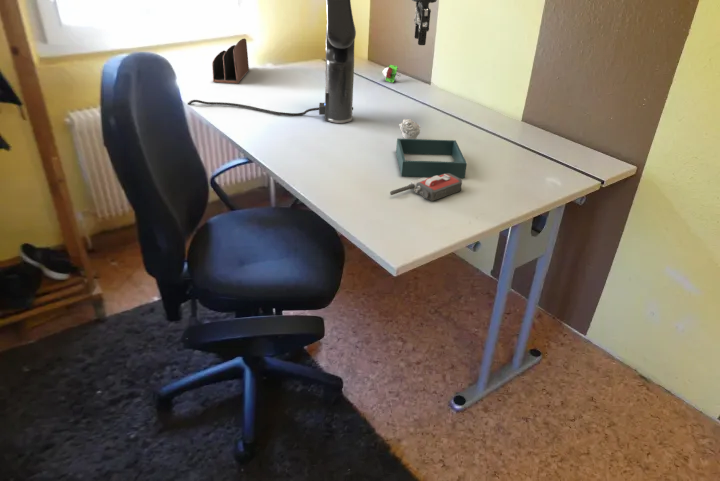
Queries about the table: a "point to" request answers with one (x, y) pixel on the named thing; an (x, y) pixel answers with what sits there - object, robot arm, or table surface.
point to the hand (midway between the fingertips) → (419, 41)
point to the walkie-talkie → (434, 186)
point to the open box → (430, 167)
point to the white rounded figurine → (409, 129)
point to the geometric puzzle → (390, 73)
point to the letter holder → (231, 64)
